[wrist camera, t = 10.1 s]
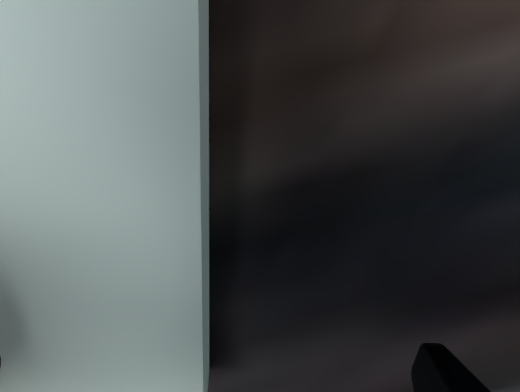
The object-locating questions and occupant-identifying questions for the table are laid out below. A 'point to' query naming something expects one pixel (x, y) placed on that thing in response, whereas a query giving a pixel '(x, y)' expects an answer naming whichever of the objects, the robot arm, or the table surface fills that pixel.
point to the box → (104, 195)
